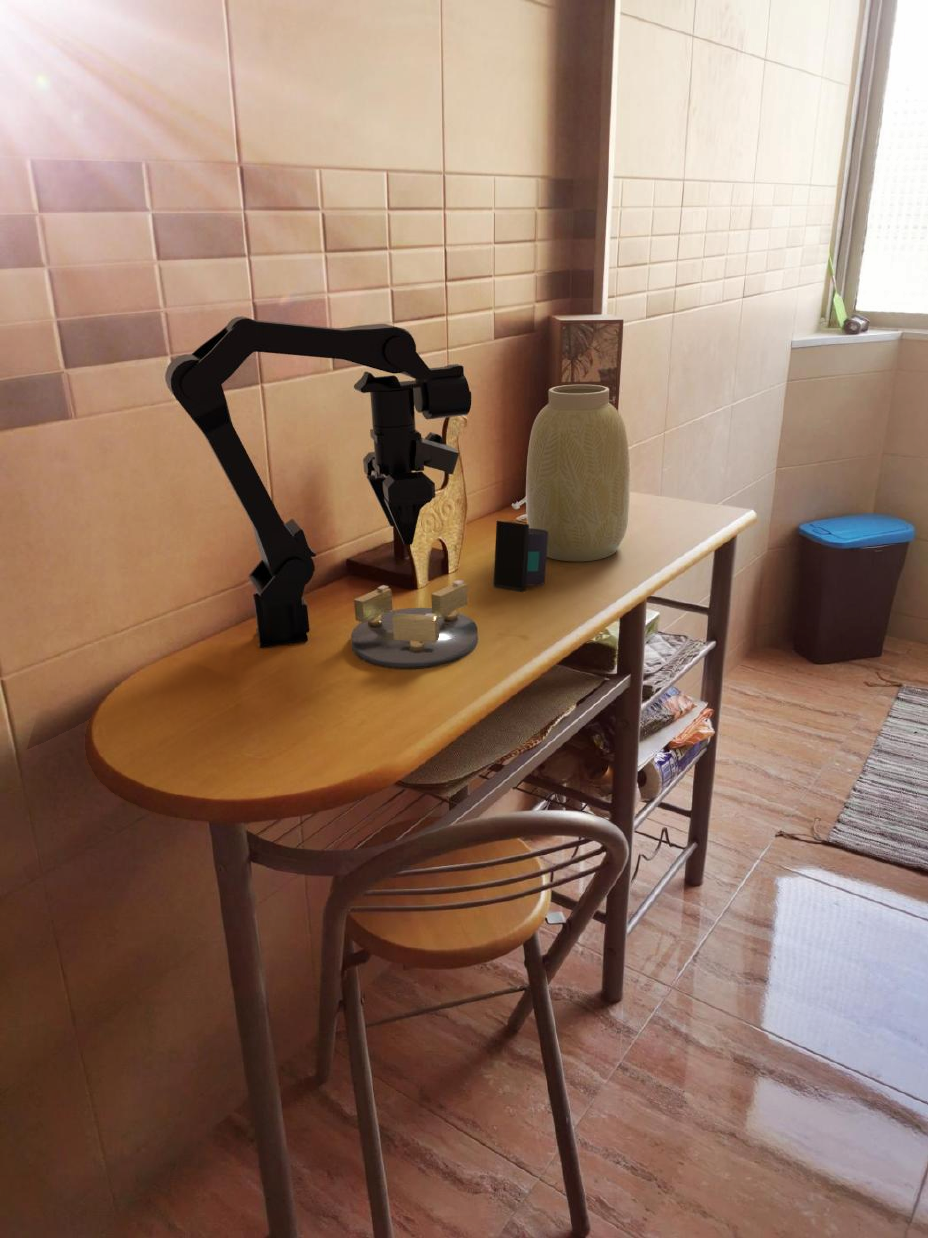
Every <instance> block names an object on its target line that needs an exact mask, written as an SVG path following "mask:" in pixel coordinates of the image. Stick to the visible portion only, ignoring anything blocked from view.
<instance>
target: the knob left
mask: <svg viewBox="0 0 928 1238" xmlns="http://www.w3.org/2000/svg"><path fill="white" fill-rule="evenodd" d="M353 603H354V604H353V605H354V606H353V607H354V616H355V621H357V622H360V623H361V622H363V623H365V622H367V621H368V627H371V628H378V627H381V626H382V625H383V624H382V614H384V613H387V612H389V611H393V610H394V609H393V594H392V588H390V587H389V585H384V584H383V585H381V586H378V587H376V589H375V590H372V591H371V592H368V593H365V594H364V595H361V596H358V597H356V598H354V599H353Z"/></svg>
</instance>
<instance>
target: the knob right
mask: <svg viewBox="0 0 928 1238" xmlns="http://www.w3.org/2000/svg"><path fill="white" fill-rule="evenodd" d="M467 587H468V585H467V583H465V581H464V580H460V579H457V580H455V581H453V582H452V584H450V585H448V586H446V587H443V588H441V589H439V590H437V591H434V592H432V593H430V596H431V597H430V598H431V601H430V602H431V608H432V614H436V616H439V617H443V621H445V622H455V621H457V620H458V616H457V613H458V609H461V608H462V607H464V606H465V607H466V606H468V593H467V592H468V588H467Z"/></svg>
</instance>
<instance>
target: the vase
mask: <svg viewBox="0 0 928 1238" xmlns="http://www.w3.org/2000/svg"><path fill="white" fill-rule="evenodd" d="M609 400H610V388H609V387H606V386H603V385H597V384H566V385H565V384H564V385H558V386H554V387H551V388H549V389H548V403H547V404H546V405H545V406H544V407H543V408H542V409H541V410H540V411H539V413H538V414H537V415H536V416H535V417H536V418H535V419H534V422H533V424H532V427H531V431H530V435H529V443H528V449H527V457H526V458H527V460H526V475H525V476H526V477H525V478H526V480H525V481H526V482H525V497H526V502H525V510H526V512H525V514H526V516H527V518H526V524H529V528H533V529H541V530H546V531H547V532H548V543H547V557H546V558H550V559H552V560H557V561H564V562H591V561H598V560H601V559H602V560H603V559H605V558H608V557H611V556H612V555H613V554H615V553H616V552H617V550H618V549H619V547H620V545H621V543H622V541H623V540H624V538H625V535H626V533H627V529H628V525H629V517H630V516H629V514H630V500H631V494H630V493H631V476H630V475H631V474H630V473H631V471H630V468H631V467H630V454H629V453H630V451H629V444H628V443H629V441H628V436H627V430H626V425H625V422H624V420H623V417H622V416H621V415H622V414H620V412H619V410H618V409H616V407H615V406H614V405H613V404H611V403H610V401H609Z"/></svg>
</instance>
